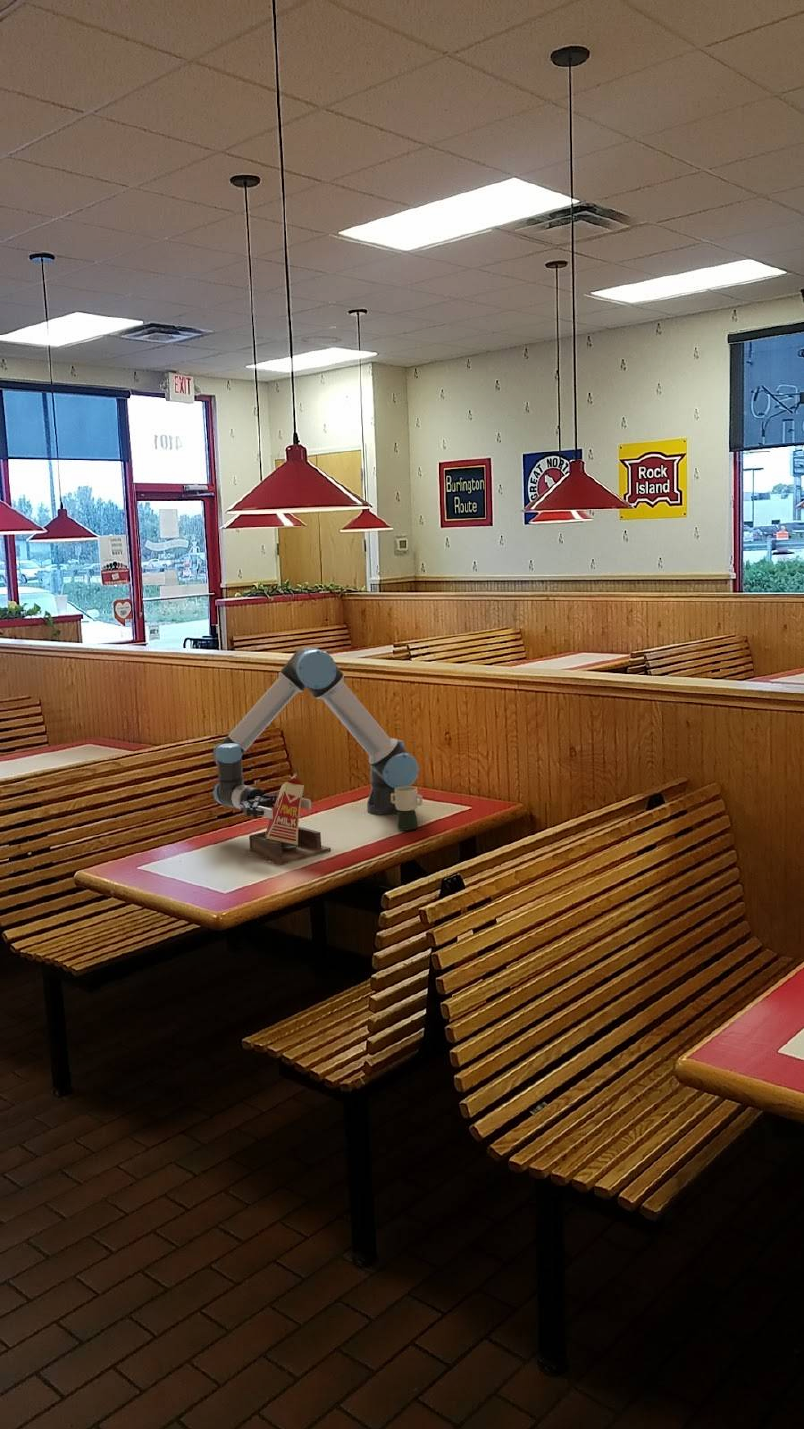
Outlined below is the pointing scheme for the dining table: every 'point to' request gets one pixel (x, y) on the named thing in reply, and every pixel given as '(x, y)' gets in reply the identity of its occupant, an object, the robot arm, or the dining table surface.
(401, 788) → the character mug
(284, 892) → the dining table surface
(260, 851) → the carton bracket
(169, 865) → the dining table surface
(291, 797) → the milk carton
